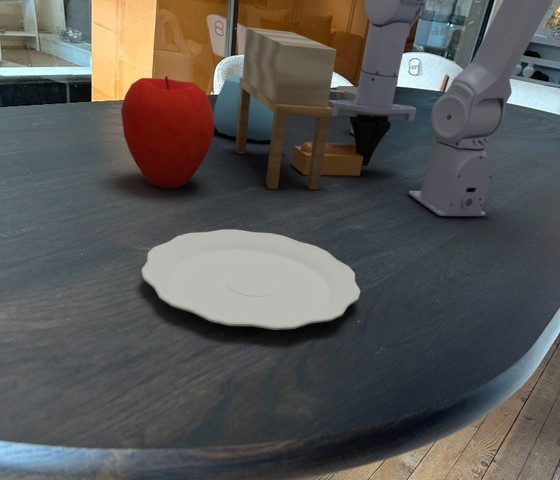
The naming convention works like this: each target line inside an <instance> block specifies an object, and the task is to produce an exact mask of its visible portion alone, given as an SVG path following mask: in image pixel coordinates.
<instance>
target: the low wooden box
mask: <svg viewBox="0 0 560 480" xmlns="http://www.w3.org/2000/svg"><path fill="white" fill-rule="evenodd" d="M312 147H313V141H306V142H304V143H303V144H301V145H294V149H293V156H292V162H291V163H292V164H291V165H292V166H293V167H294V168H295V169H296V170H298V171H299V172H300V173H301V174H302V175H303V176H308V174H309V167H310V160H311V154H312ZM362 161H363V156H361V155H360V154H358V153H357V149H356V145H354V144H353V143H350V142H349V143H348V142H326V145H325V152H324V158H323V164H322V170H321V176H361V171H362V167H363V166H362Z"/></svg>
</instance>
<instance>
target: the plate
mask: <svg viewBox="0 0 560 480" xmlns="http://www.w3.org/2000/svg"><path fill="white" fill-rule="evenodd" d="M141 274H142V275H141V276H142V279H143V281H145V282H146V283H147V284H148V285H149V286H150V287H152V288H153V289H154V290H155V293H156V294H157V296H158V299H160V300H161V301H163V302H164V303H166V304H168V305H169V306H171V307H173V308H176V309H179V310H182V311H186V312H189V313H192V314H194V315H197V316H198V317H200V318H203V319H204V320H206V321H208V322H211V323H216V324H220V325H223V326H229V327H254V328H261V329H269V330H273V331H277V330H279V331H280V330H293V329H294V330H295V329H297V328H298V329H299V328H301V327H305V326H307V325H311V324H318V323H325V322H332V321H334V320H336V319H337V318H340V317H342V316H344V313H345V312H346V310H347V309H348V307H350V306H351V305H352V304H354V303H355V302H357V301H359V299H360V294H361V289H360V287H359V286H358V284H357V283H356V273H355V272H354V270H353V269H351V267H350V266H349V265H347V264H345V263H344V262H342V261H340V260H338V259H337V258H335V257H334V256H333V255H332V254H331V253H330V252H329V251H327V250H325V249H323V248H321V247H319V246H317V245H313V244H311V243H306V242H303V241H299V240H296V239H293V238H291V237H288V236H286V235H281V234H278V233H277V234H276V233H272V232H257V231H256V232H255V231H248V230H242V229H218V230H217V229H216V230H212V231H202V232H188V233H185V234H180V235H177V236H176V237H173V238H172V239H171V240H169V241H167V242H164V243H161V244H159V245H156V246H153V248H151V249H150V250H149V251H148V252H147V260H146V263H144V265H143V266H142V268H141Z"/></svg>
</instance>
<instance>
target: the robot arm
mask: <svg viewBox="0 0 560 480" xmlns="http://www.w3.org/2000/svg"><path fill="white" fill-rule="evenodd" d="M424 2H425V0H364V10H365V15H366V17H367V18H368V20H369V23H368V30H367V34H366V35H367V36H366V40H365V47H364V52H363V57H362V62H361V69H360V74H359V80H358V85H357V87H358V90H357V96H356V100H337V99H336V100H335V99H329V101H328V106H329V107H330V108H332V109H333V110H332V116H331V117H338V116H339V117H349V121H350V123H351V124H350V125H351V126H352V128H353V132H354V135H353V137H354V144H355V145H354V146H355V147H356V149H357V153H358V154H360V155H361V156H363V161H362V166H361V167H369V164H370V161H371V159H372V157H373V154H374V153H375V151H376V149H377V147H378V145H379V144H380V142H381V141H382V139H383V138H384V136H385V135H387V133H388V131H390V128H391V125H392V123H391V122H390V121H389V120H401V121H407V122H415V117H416V113H417V108H416V107H414V106H411V105H403V104H397V103H393V102H394V98H395V93H396V88H397V84H398V83H397V82H398V79H399V74H400V69H401V66H402V61H403V55H404V51H405V47H406V42H407V38H409V36H410V32H411V29H412V27H413V25H414V24H415V23H416V22H417V21H418V19H419V17H420V15H421V13H422V9H423V6H422V5H421V4H423V3H424ZM553 2H554V0H502V2H501V3H500V5H499V7H498V9H497V11H496V13H495V15H494V17H493V19H492V21H491V23H490V25H489V27H488V29H487V31H486V33H485V35H484V37H483V39H482V41H481V43H480V45H479V47H478V49H477V51H476V53H475V55H474V57H473V59H472V60H471V62H470V64H468V65H467V66H466V67H464V69H463V70H462V71H461V72H459V73H458V74H457V75H456V76H455V77H454V78H453V79H452V81H451V83H450V85H449V87H448V88H447V90H446V91H445V92H444V93H443V94H442V95H440V96H439V97H438V98H437V100H436V101H435V103H434V104H433V106H432V108H431V111H430V120H429V121H430V128H431V130H432V133H433V138H432V140H433V144H432V148H431V151H430V155H429V159H428V163H427V166H426V170H425V174H424V178H423V182H422V185H421V190H409V191H408V195H409V196H410V197H412V198H413V199H415V200H416V201H417V202H419V203H420V204H422V205H423V206H424V207H426V208H427V209H429V210H430V211H431V212H433V213H435V215H437V216H440V217H485V216H486V214H487V213H486V212H485V211H484V210H483V208H484V205H485V202H486V199H487V196H488V193H489V189H490V186H491V184H492V180H493V177H494V172H495V171H494V169H495V167H494V162H493V160H492V159H491V158H490V157H489V156H488V155H487V151H486V148H487V145H488V141H489V138H490V136H493V135H494V134H496V132H497V131H498V130H499V129H500V127H501V125H502V124H503V121H504V118H505V110H506V106H507V103H508V101H509V99H510V97H511V95H512V93H513V92H512V91H513V90H512V86H511V77H512V75H513V73H514V72H515V70H516V69H517V66H518V65H519V62H520V61H521V59H522V58H523V55H524V54H525V52H526V50H527V48H528V46H529V44H530V43H531V41H532V39H533V37H534V36H535V34H536V32H537V30H538V28H539V26H540V25H541V24H542V21H543V20H544V17H545V16H546V14H547V12H548V10H549V9H550V6H551V5H552V4H553ZM356 112H357V113H356ZM364 112H366V113H364ZM371 113H373V114H371Z"/></svg>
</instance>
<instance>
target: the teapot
mask: <svg viewBox="0 0 560 480" xmlns="http://www.w3.org/2000/svg"><path fill="white" fill-rule="evenodd" d="M240 78H243V75H231V76H228V77H227V78H226V79H225V80H224V82H223V84H222V86H221V88H220V91H219V93H218V95H217V98H216V100H215V104H214V107H213V119H214V128H215V129H216V132H218V133H220V134H224V135H226V136H228V137H234V138H236V136H237V123H238V110H239V96H240V86H239V83H240ZM273 115H274V112H273V111H271V110H270V109H269V108H267V107H266V106H265V105H264V104H262V103H261V102H260V101H258V100H257V99H256V98H255V97H253V96H252V95H251V94H250V104H249V116H248V128H247V139H248V140H253V141H256V142H262V141H271V134H272V124H273ZM247 139H246V140H247Z"/></svg>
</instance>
